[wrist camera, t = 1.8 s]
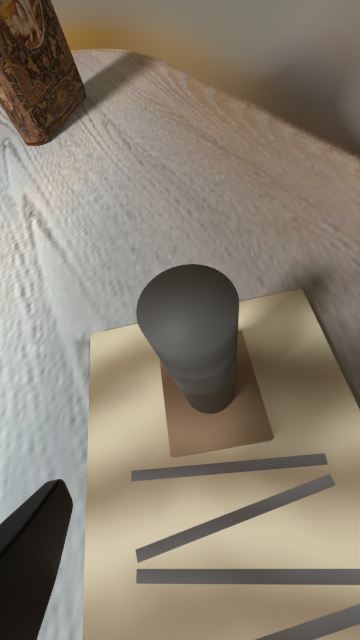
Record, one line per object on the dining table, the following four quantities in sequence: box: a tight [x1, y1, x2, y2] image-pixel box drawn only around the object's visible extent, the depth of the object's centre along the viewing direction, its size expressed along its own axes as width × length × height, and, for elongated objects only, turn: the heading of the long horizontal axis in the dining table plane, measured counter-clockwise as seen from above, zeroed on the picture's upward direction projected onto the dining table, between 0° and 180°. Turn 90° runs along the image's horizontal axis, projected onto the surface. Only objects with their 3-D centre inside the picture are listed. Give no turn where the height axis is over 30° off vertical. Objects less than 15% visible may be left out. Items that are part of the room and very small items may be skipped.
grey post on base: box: [137, 264, 274, 458], centre depth 13 cm, size 7×6×12 cm
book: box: [0, 0, 86, 146], centre depth 37 cm, size 16×6×25 cm, turn 166°
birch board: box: [83, 288, 360, 640], centre depth 16 cm, size 24×18×1 cm
